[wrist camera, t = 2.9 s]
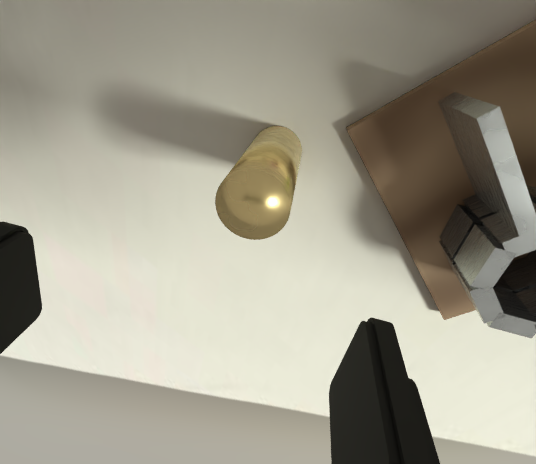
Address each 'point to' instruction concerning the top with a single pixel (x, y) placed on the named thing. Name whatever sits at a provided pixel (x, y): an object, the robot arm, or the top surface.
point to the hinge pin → (261, 185)
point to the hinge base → (446, 152)
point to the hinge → (492, 219)
